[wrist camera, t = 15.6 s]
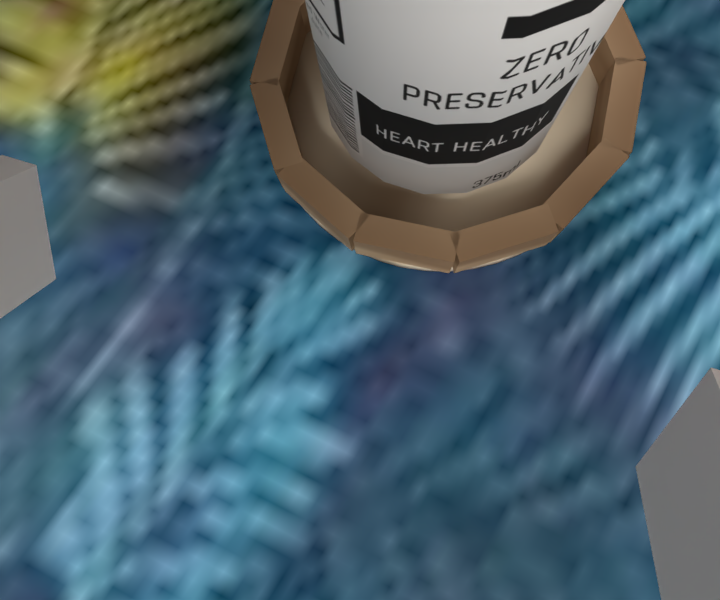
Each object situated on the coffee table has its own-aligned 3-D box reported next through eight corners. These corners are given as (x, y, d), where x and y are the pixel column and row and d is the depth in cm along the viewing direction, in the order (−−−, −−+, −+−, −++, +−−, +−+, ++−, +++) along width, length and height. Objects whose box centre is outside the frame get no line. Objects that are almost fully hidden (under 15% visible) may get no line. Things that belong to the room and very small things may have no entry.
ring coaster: (229, 230, 20) (211, 211, 18) (314, -69, 22) (307, -117, 20) (585, 306, 19) (608, 295, 17) (639, -17, 21) (666, -62, 19)
